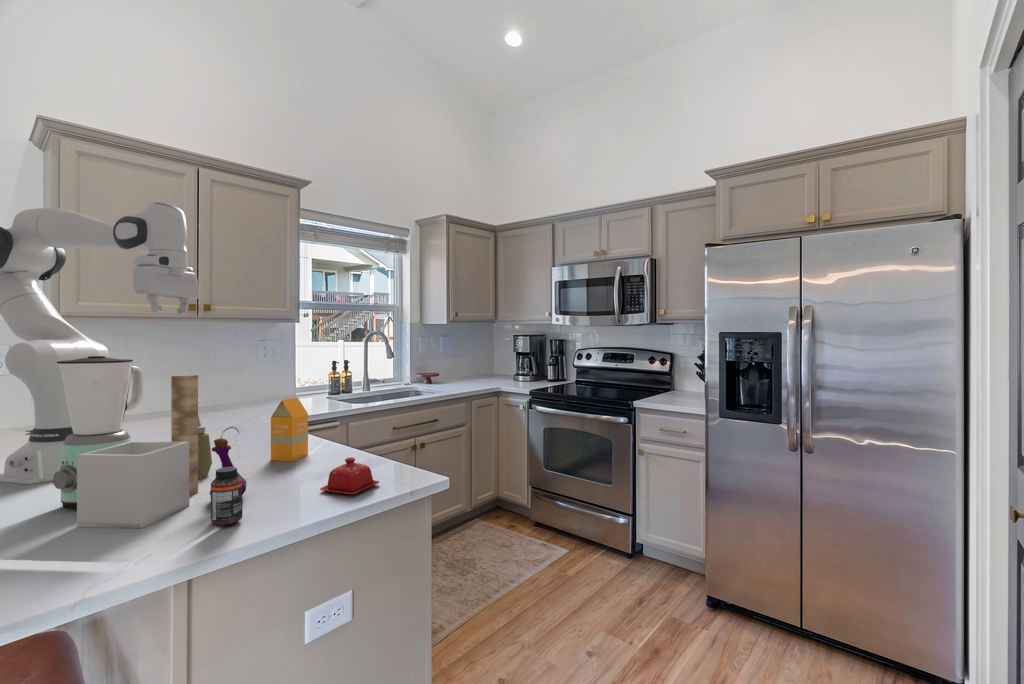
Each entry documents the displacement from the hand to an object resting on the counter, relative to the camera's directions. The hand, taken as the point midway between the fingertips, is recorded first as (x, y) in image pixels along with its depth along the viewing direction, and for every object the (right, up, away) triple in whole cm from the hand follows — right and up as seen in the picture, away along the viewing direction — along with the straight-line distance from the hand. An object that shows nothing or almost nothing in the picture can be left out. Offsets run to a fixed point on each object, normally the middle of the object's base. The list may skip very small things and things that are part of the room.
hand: (169, 313), depth 136 cm
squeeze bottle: (+4, -46, +4) cm, 47 cm away
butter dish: (+52, -47, -6) cm, 70 cm away
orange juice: (+22, -46, +25) cm, 57 cm away
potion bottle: (+25, -47, -16) cm, 55 cm away
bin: (+11, -46, -26) cm, 54 cm away
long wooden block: (+12, -46, -11) cm, 49 cm away
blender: (-5, -47, -16) cm, 49 cm away
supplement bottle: (+33, -47, -29) cm, 64 cm away
